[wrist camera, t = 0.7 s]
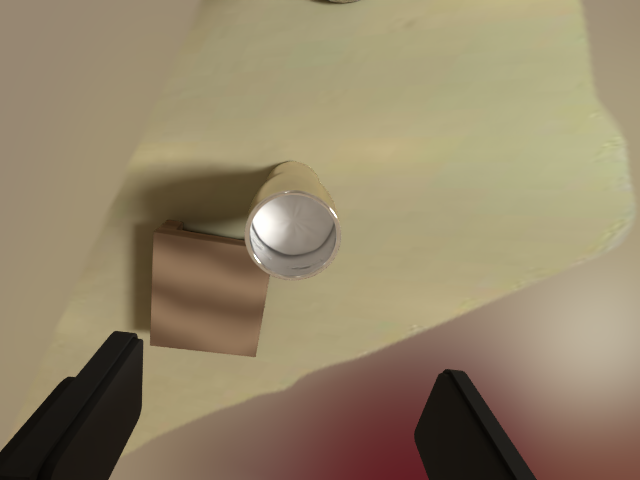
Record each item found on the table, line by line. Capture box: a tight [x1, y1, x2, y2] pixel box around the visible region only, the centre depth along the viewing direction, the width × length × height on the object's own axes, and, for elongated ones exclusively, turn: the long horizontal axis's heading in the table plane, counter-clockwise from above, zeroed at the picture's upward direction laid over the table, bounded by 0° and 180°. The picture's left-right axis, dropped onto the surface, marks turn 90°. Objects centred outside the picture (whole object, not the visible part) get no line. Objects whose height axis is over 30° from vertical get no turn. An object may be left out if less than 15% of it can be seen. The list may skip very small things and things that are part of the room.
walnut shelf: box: [150, 220, 270, 357], centre depth 38 cm, size 14×12×4 cm
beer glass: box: [245, 161, 341, 280], centre depth 29 cm, size 7×7×15 cm
